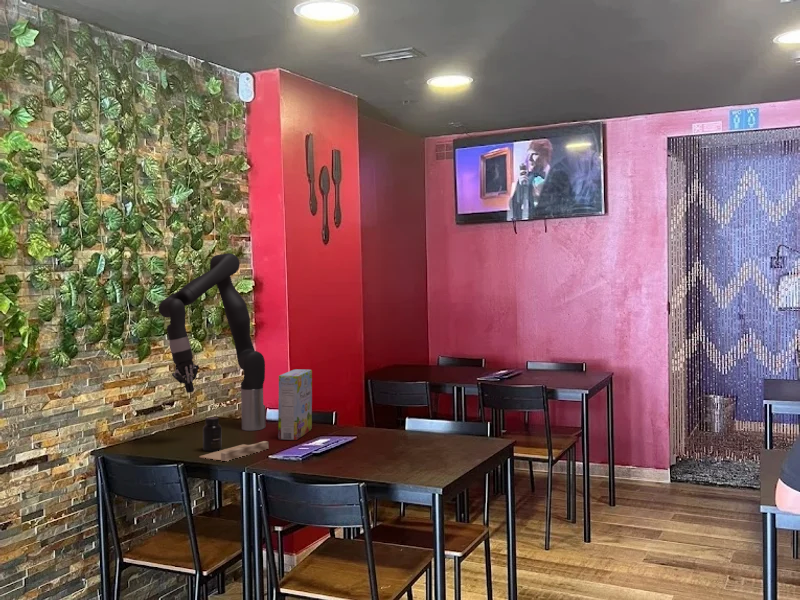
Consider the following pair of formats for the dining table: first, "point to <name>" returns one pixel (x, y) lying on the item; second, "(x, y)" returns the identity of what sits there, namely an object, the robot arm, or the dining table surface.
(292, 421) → the snack box
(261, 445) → the rail
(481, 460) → the dining table surface
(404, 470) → the dining table surface
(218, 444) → the supplement bottle
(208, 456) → the cork mat
